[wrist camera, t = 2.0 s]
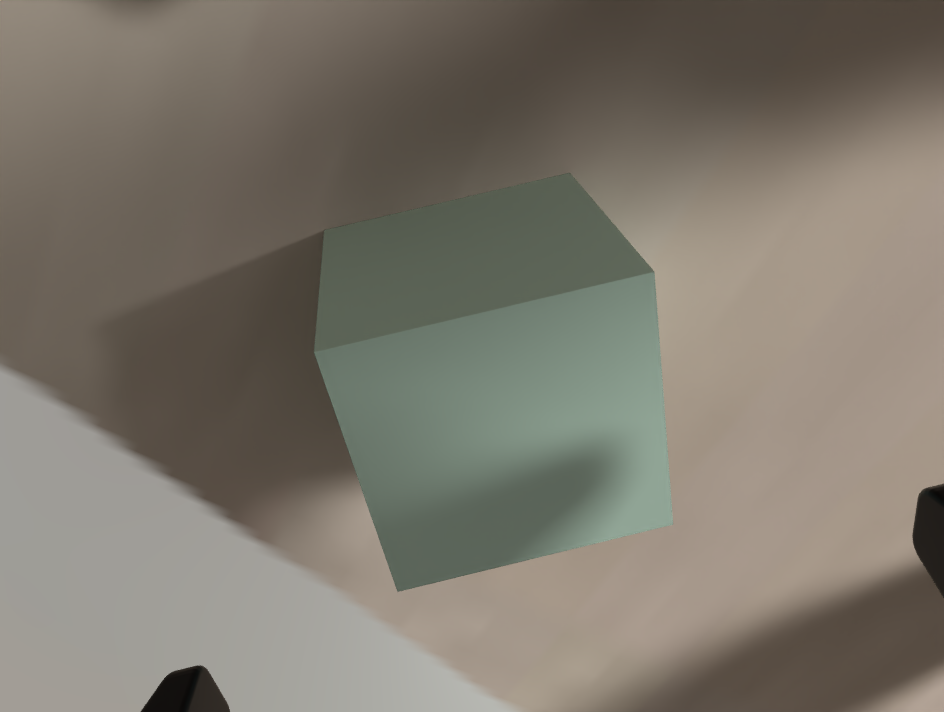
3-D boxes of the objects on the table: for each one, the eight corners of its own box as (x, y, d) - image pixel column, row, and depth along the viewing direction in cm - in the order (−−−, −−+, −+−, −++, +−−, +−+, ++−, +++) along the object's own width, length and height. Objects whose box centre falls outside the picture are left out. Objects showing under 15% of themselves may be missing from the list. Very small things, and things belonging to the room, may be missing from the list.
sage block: (569, 171, 15) (654, 271, 11) (595, 378, 18) (673, 524, 14) (324, 228, 15) (314, 352, 11) (386, 428, 18) (397, 591, 13)
